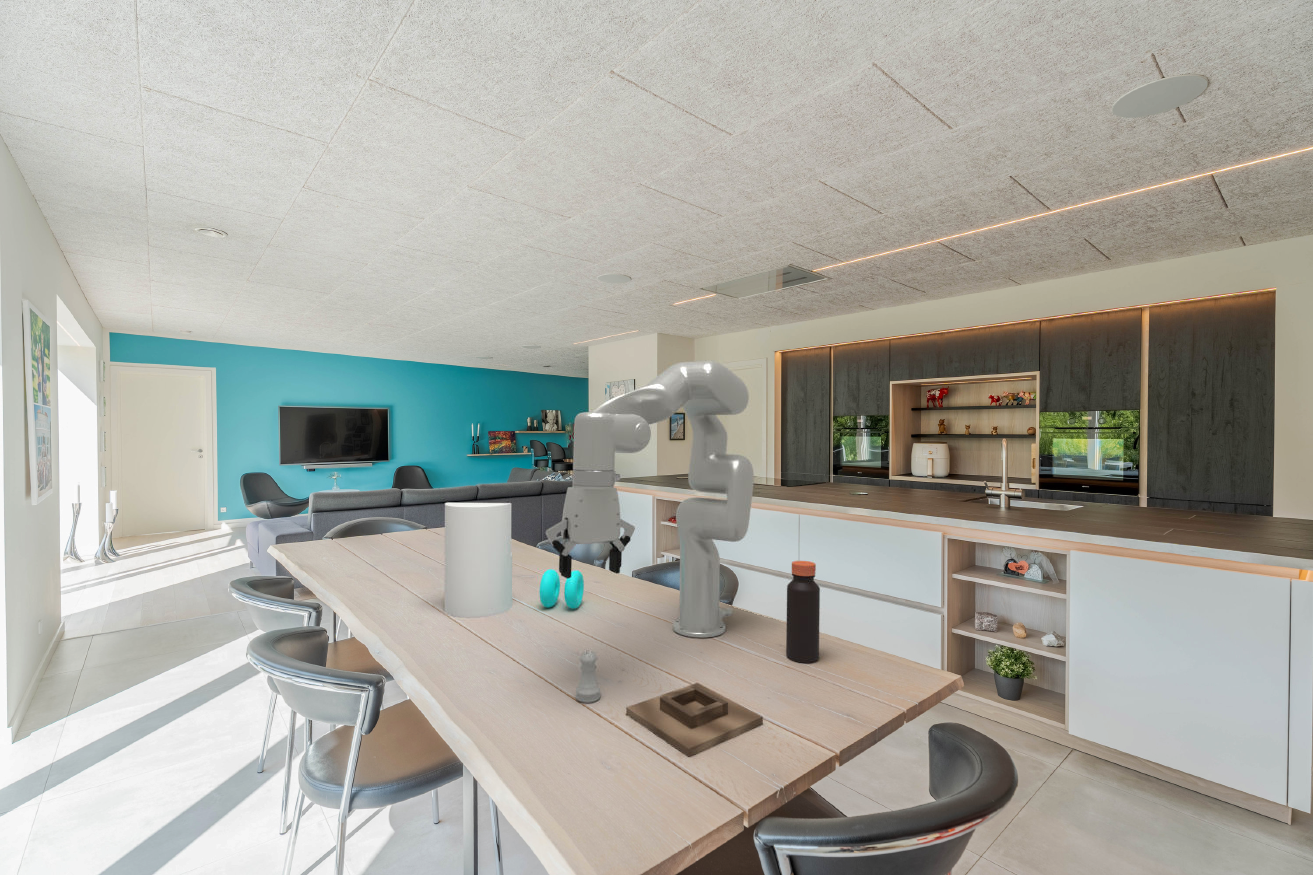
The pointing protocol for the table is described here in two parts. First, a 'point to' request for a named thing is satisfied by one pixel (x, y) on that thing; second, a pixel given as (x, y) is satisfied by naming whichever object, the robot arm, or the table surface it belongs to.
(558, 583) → the donuts
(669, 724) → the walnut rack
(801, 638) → the bottle
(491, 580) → the cylinder
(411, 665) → the table surface
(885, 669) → the table surface
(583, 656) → the rook chess piece
